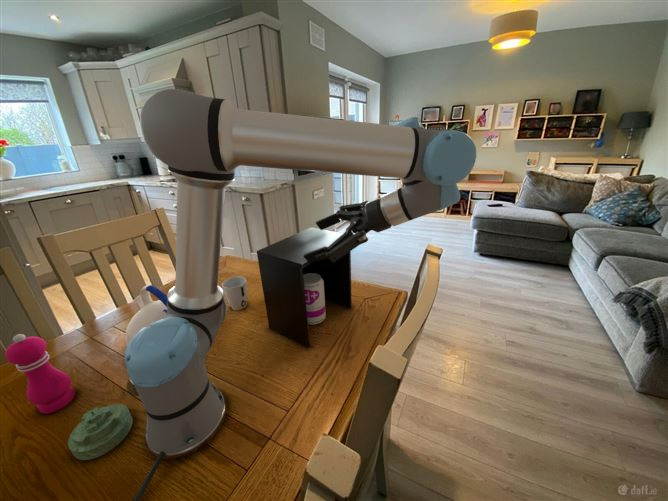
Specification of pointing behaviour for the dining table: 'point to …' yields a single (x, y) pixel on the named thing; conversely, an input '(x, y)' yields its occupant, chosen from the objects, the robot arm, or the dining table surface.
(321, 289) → the supplement can
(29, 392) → the pepper mill
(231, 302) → the cup
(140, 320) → the kettle
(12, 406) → the dining table surface
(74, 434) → the decorative artifact
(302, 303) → the box
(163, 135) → the robot arm
